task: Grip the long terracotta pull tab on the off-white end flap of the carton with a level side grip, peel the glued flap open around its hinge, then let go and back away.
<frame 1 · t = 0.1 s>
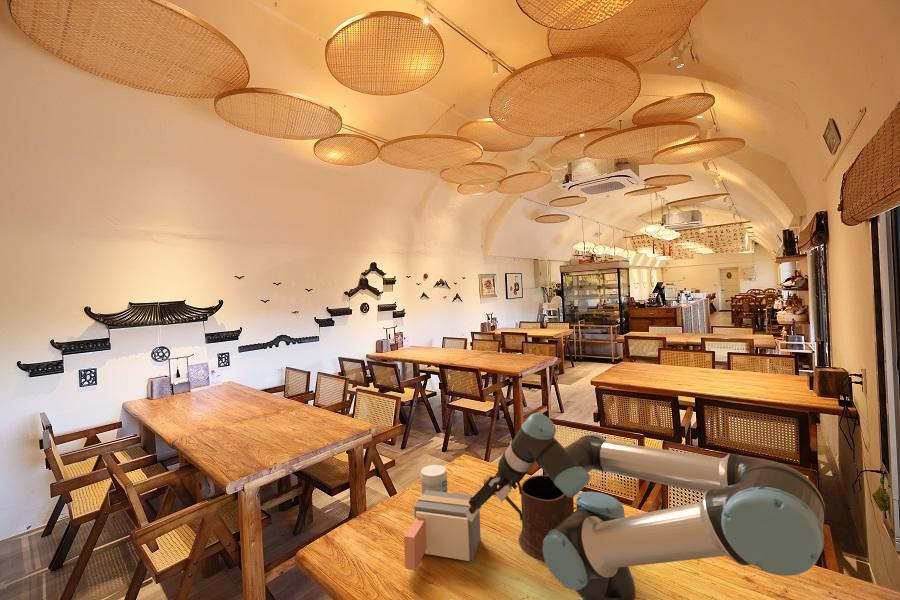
hand: (484, 507, 110), 15 cm above the table, tool tilted 35°, fingers open, 13 cm apart
flap: (437, 545, 106), point 7 cm above the table, hinge at 0.0°
hamburger: (490, 491, 149), on the table
carton: (449, 546, 116), on the table
supplement tub: (435, 510, 136), on the table
brown pitcher: (539, 542, 117), on the table
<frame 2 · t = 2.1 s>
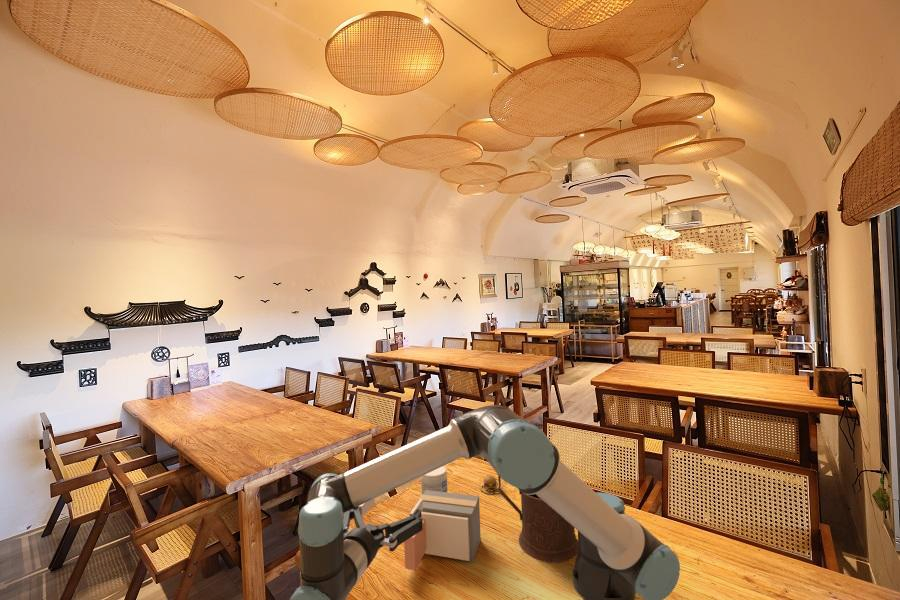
hand: (396, 501, 97), 25 cm above the table, tool horizontal, fingers open, 13 cm apart
nothing on the table moved.
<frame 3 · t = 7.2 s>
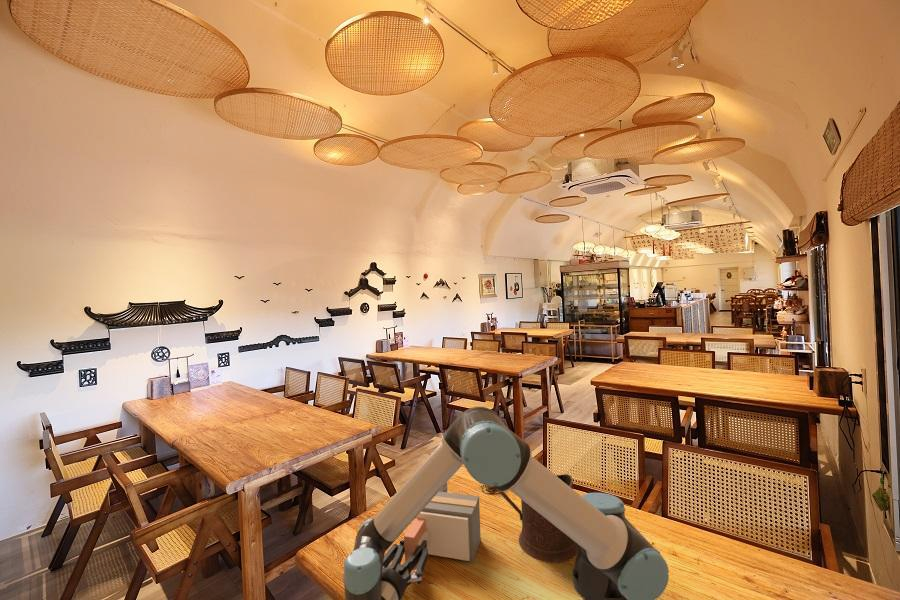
hand: (420, 534, 111), 7 cm above the table, tool horizontal, fingers closed on flap, 3 cm apart
flap: (437, 545, 106), point 7 cm above the table, hinge at 0.0°, touching gripper
everything else where it was.
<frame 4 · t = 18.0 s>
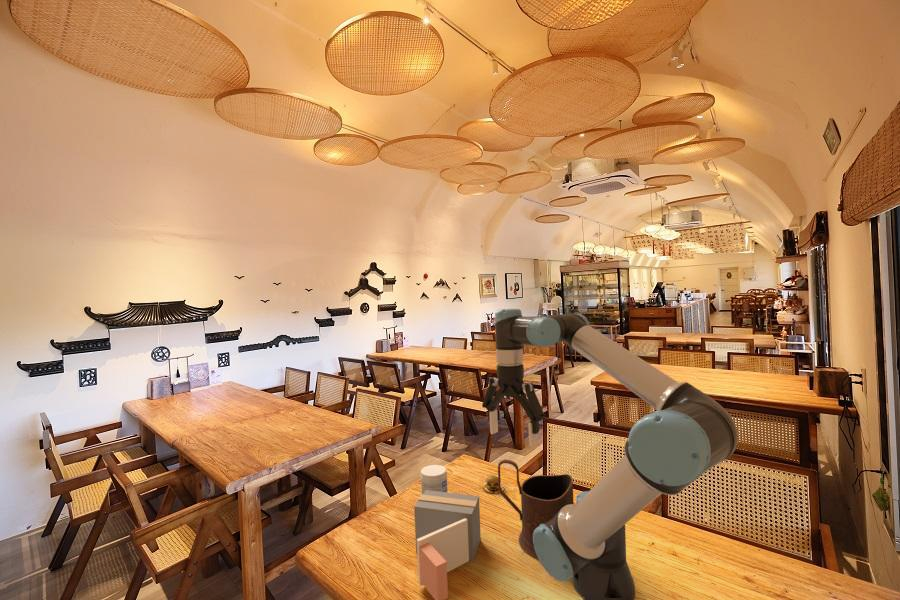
hand: (512, 438, 105), 37 cm above the table, tool pointing down, fingers open, 13 cm apart
flap: (452, 559, 100), point 7 cm above the table, hinge at 49.9°
at the end: flap at +50° (first picture: +0°); the gripper is holding nothing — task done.
